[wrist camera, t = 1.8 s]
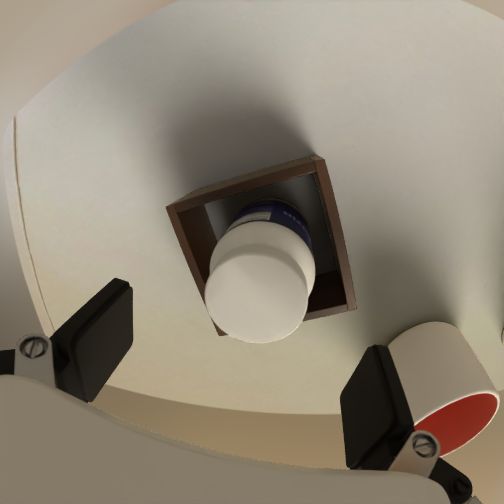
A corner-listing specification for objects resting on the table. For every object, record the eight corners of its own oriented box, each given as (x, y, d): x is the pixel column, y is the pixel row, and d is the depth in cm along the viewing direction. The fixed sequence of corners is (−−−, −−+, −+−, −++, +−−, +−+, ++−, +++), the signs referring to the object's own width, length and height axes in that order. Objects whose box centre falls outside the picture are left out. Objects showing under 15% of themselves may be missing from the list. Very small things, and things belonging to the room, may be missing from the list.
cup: (354, 382, 27) (366, 463, 17) (405, 304, 23) (447, 385, 13) (424, 393, 26) (446, 461, 17) (475, 326, 23) (518, 392, 13)
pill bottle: (320, 253, 22) (336, 333, 13) (253, 278, 24) (228, 364, 14) (290, 183, 20) (289, 221, 11) (220, 214, 22) (169, 271, 13)
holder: (191, 191, 22) (164, 207, 17) (316, 154, 19) (324, 158, 15) (232, 300, 25) (218, 336, 20) (345, 275, 22) (357, 309, 18)
